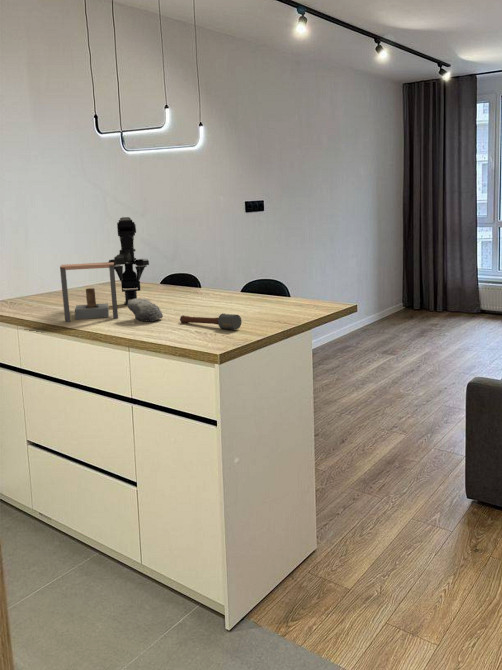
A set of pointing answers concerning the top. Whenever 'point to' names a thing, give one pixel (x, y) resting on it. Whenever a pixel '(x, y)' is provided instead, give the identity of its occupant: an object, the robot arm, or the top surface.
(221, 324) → the mallet
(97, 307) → the socket stand
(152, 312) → the rock
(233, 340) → the top surface
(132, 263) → the robot arm
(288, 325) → the top surface
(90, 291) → the peg
